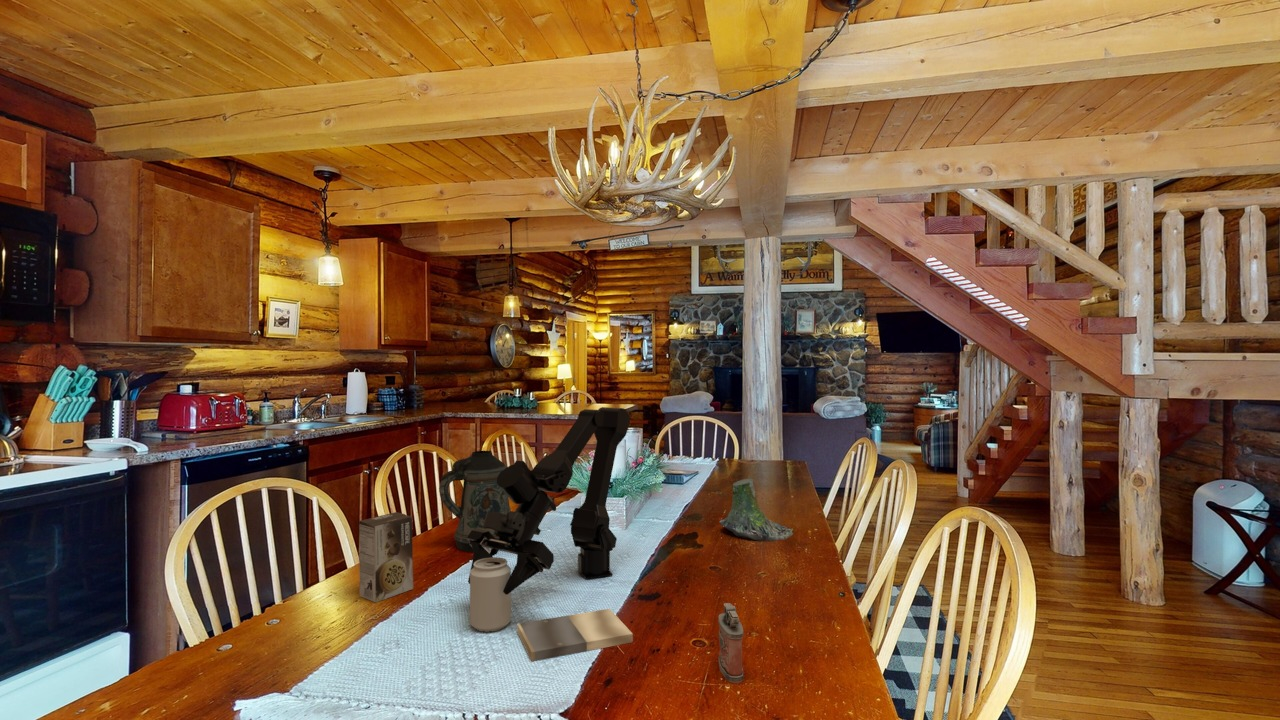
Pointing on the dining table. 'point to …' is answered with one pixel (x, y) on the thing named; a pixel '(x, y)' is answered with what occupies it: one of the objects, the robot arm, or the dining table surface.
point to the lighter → (730, 644)
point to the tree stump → (751, 516)
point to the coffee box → (385, 556)
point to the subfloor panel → (573, 634)
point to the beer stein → (475, 494)
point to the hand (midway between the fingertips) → (486, 588)
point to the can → (489, 594)
